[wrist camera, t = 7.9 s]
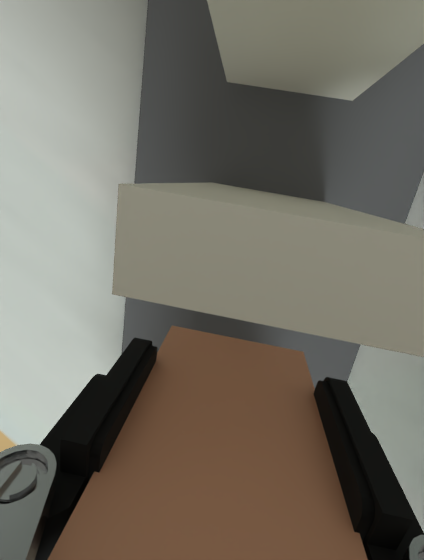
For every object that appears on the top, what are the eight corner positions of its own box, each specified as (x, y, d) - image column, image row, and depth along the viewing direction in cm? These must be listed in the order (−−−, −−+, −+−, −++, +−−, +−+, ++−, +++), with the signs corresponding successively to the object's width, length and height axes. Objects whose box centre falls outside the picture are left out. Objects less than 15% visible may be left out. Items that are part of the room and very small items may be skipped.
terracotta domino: (292, 387, 12) (464, 1218, 2) (167, 361, 12) (-124, 1003, 3) (303, 351, 11) (577, 1237, 2) (171, 325, 12) (-172, 972, 2)
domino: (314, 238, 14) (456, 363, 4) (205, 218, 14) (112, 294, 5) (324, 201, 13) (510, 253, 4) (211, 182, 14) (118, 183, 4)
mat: (294, 516, 20) (295, 523, 19) (115, 473, 20) (112, 478, 20) (521, -115, 10) (533, -127, 10) (163, -151, 11) (160, -164, 10)
